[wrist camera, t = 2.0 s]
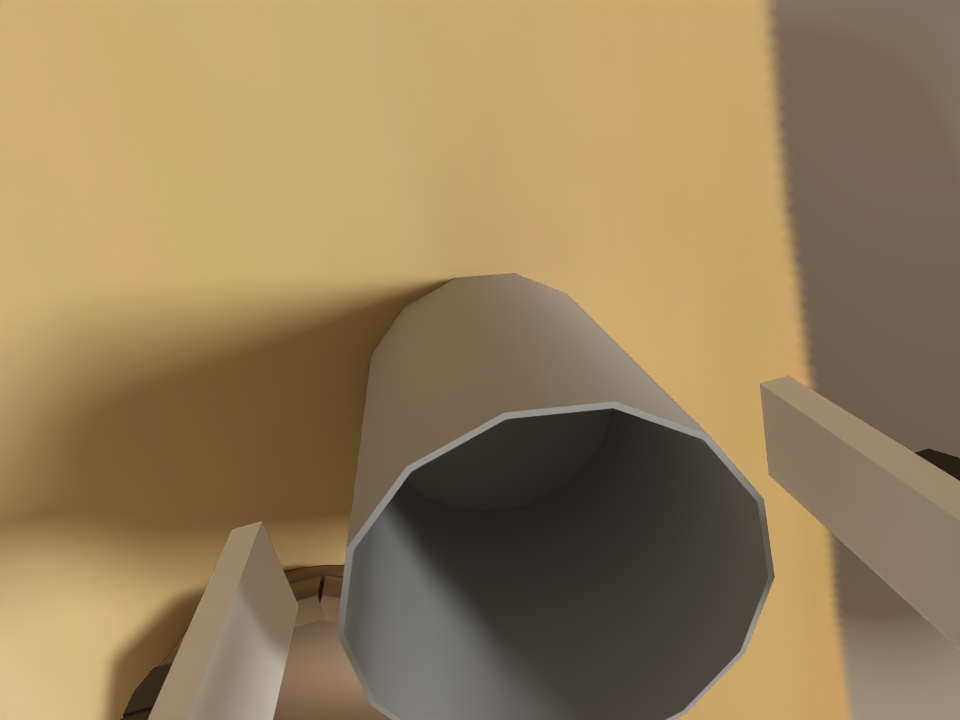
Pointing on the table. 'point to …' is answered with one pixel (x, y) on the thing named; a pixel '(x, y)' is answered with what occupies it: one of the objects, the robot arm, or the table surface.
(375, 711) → the tray
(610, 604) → the cup
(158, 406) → the table surface
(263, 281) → the table surface
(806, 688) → the table surface
